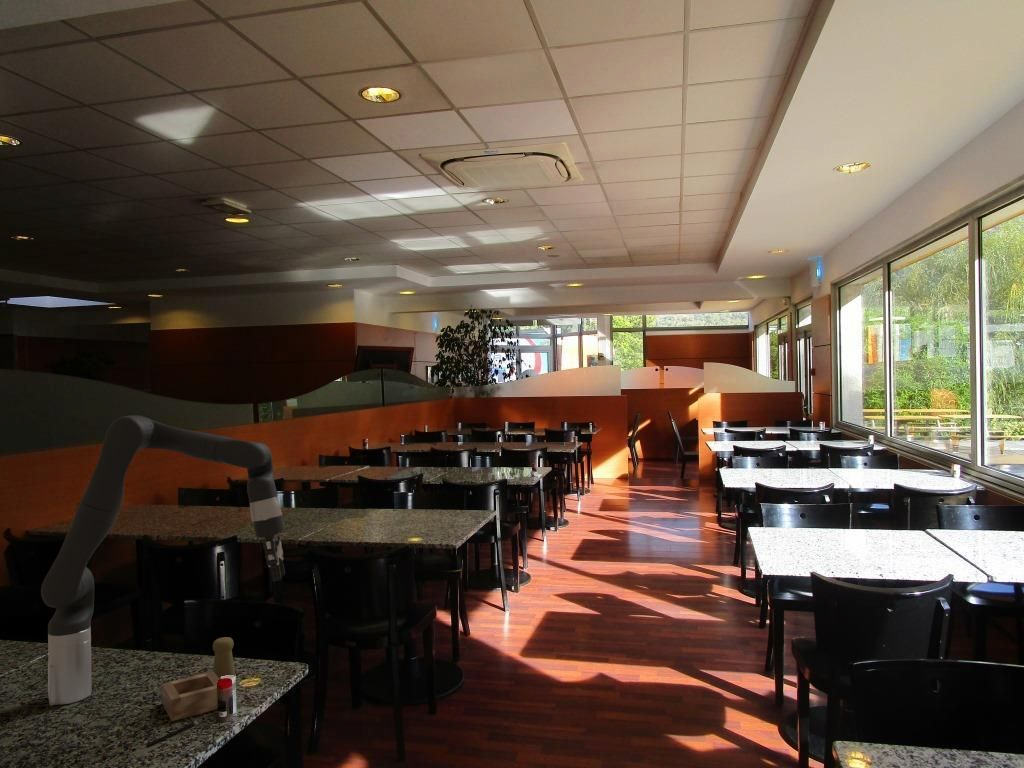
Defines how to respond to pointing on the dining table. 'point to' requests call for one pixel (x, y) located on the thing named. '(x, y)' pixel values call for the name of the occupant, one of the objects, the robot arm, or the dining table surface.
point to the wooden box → (190, 695)
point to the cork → (223, 657)
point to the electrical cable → (171, 734)
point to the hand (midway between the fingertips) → (279, 578)
